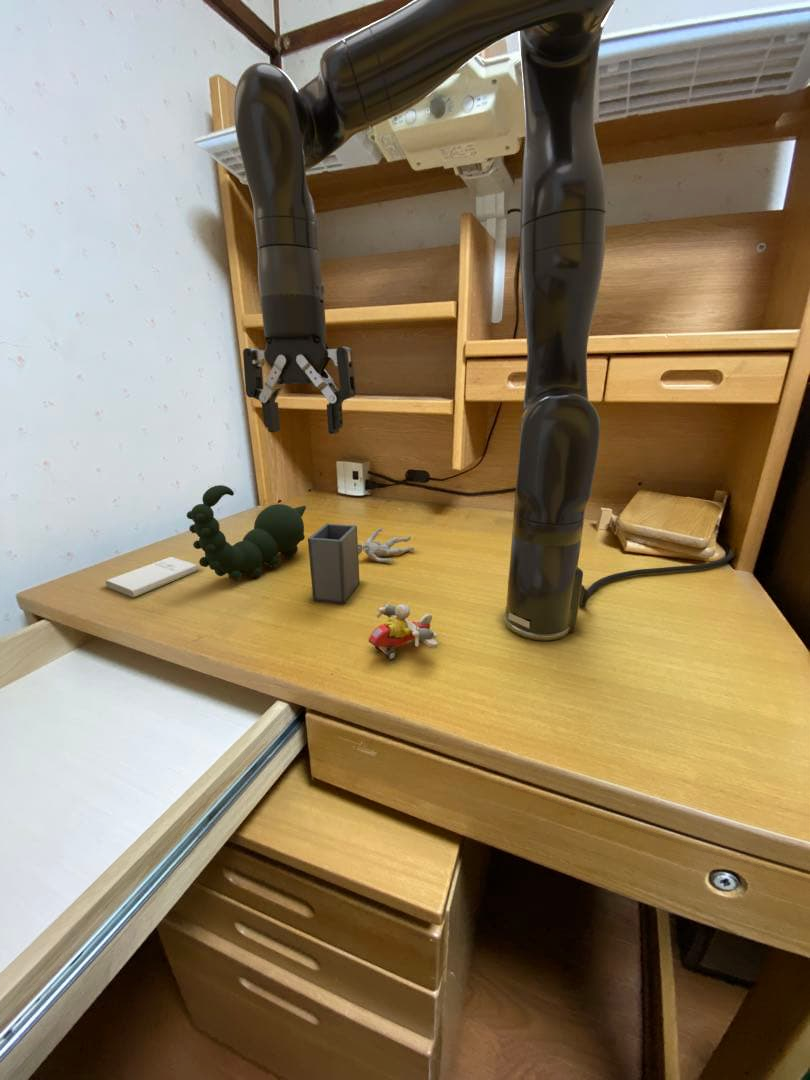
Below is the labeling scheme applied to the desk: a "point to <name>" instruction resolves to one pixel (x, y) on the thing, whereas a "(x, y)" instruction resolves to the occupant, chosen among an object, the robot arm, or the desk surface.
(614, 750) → the desk surface
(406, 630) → the toy airplane
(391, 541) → the soldier figure
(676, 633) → the desk surface
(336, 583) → the dark grey rectangular box
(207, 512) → the toy figurine
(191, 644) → the desk surface
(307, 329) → the robot arm
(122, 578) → the hard drive
